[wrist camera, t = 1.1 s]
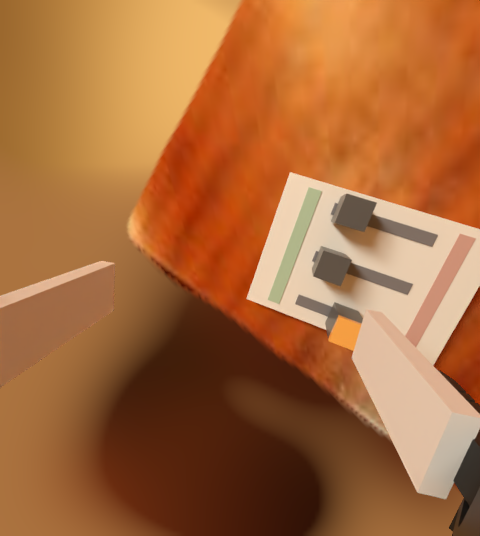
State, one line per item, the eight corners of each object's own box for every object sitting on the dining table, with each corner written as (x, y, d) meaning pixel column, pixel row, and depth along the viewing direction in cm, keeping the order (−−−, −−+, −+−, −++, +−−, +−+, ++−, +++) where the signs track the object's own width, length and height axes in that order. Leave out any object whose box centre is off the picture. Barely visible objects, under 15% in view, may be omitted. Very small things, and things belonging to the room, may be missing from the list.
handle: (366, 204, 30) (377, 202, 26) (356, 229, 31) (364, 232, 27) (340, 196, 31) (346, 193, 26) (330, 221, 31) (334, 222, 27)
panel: (494, 236, 30) (508, 237, 28) (423, 362, 34) (430, 371, 32) (290, 174, 34) (289, 172, 32) (249, 294, 38) (246, 299, 36)
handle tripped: (358, 310, 33) (367, 327, 28) (348, 332, 33) (356, 351, 28) (334, 301, 33) (339, 316, 28) (325, 323, 34) (328, 341, 29)
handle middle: (345, 254, 32) (352, 260, 27) (335, 277, 32) (340, 286, 28) (321, 245, 32) (323, 250, 28) (312, 268, 33) (312, 276, 29)
